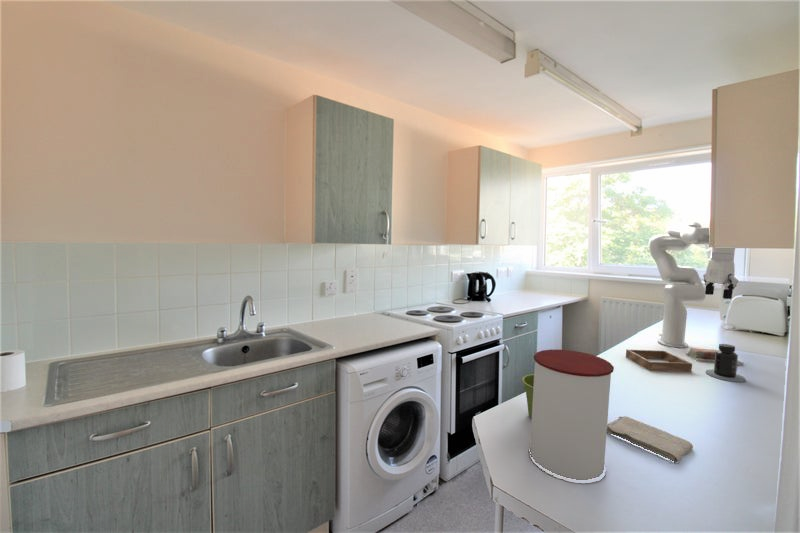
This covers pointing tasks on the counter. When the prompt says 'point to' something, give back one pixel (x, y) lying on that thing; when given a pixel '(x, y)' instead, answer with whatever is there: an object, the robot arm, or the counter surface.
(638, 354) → the bin
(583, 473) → the container
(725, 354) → the supplement bottle
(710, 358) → the packaged product
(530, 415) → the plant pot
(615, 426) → the washcloth
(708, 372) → the mat
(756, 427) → the counter surface
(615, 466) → the counter surface
